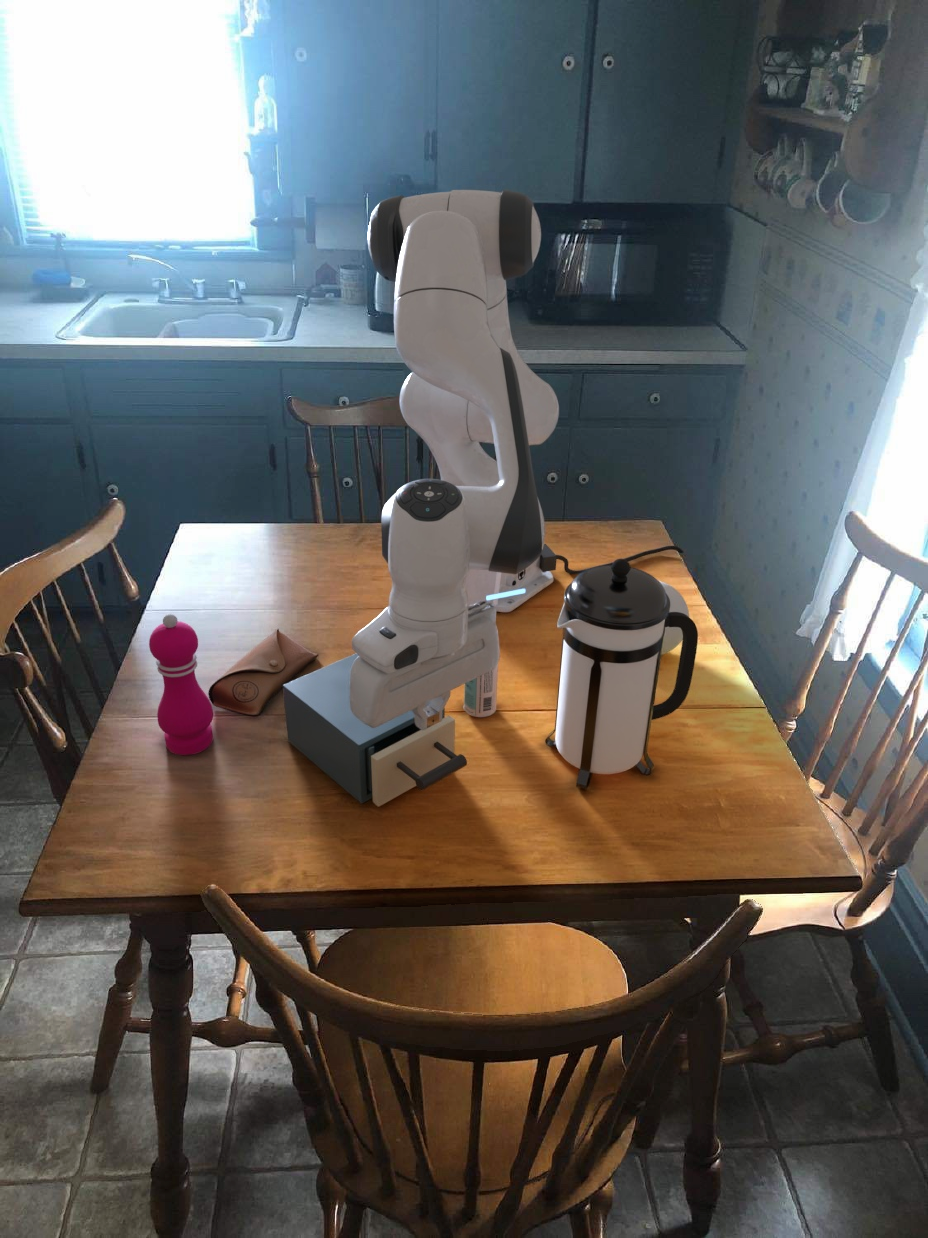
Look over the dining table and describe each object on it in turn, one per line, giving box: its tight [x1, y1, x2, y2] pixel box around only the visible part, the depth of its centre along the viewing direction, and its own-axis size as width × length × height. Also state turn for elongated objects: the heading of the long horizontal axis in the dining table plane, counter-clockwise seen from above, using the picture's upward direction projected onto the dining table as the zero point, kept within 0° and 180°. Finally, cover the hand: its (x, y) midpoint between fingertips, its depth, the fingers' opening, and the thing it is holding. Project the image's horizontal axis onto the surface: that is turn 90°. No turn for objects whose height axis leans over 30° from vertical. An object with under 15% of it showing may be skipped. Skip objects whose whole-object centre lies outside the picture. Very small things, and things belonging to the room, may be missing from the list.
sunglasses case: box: [207, 628, 319, 716], centre depth 141 cm, size 18×7×7 cm
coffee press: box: [544, 558, 699, 791], centre depth 121 cm, size 17×16×30 cm
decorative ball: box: [658, 580, 690, 656], centre depth 148 cm, size 12×12×12 cm
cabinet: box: [282, 653, 446, 805], centre depth 126 cm, size 17×14×9 cm
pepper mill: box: [148, 613, 215, 756], centre depth 124 cm, size 7×7×20 cm
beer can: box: [463, 644, 501, 718], centre depth 133 cm, size 5×5×12 cm
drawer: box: [365, 715, 468, 807], centre depth 122 cm, size 21×13×7 cm, turn 42°
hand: (428, 723), depth 113 cm, fingers closed
